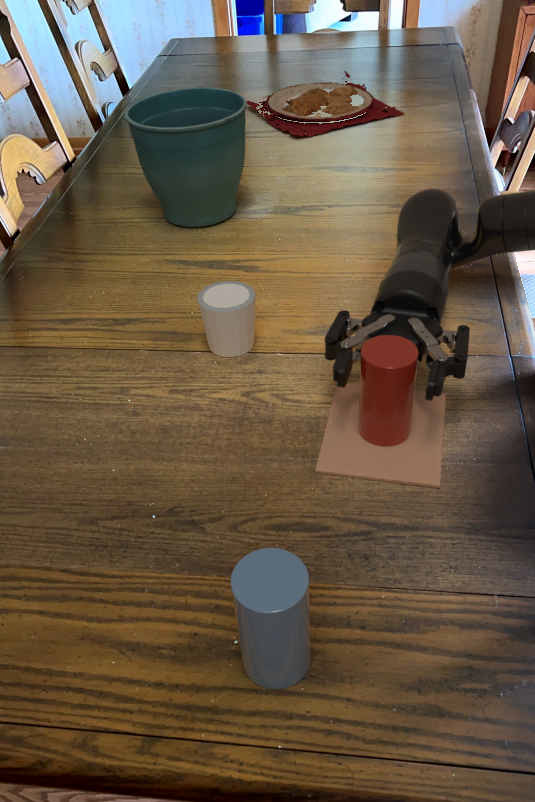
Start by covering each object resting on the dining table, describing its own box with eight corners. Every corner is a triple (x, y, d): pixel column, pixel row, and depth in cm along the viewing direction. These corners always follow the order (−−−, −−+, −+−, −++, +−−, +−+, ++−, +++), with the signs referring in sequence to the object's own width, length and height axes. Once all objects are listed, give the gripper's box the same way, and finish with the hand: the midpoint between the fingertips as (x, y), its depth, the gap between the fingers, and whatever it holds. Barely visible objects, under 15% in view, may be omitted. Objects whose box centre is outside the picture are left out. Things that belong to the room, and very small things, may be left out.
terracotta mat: (445, 395, 78) (446, 392, 78) (439, 488, 68) (440, 485, 68) (336, 385, 81) (336, 382, 81) (315, 473, 70) (315, 470, 70)
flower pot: (148, 246, 109) (128, 134, 98) (140, 198, 123) (121, 95, 112) (264, 228, 111) (256, 117, 100) (243, 183, 125) (235, 81, 114)
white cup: (231, 367, 84) (226, 317, 80) (192, 346, 88) (184, 297, 84) (270, 341, 88) (267, 292, 84) (231, 321, 92) (226, 274, 87)
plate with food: (243, 109, 156) (242, 93, 154) (345, 84, 164) (344, 68, 161) (294, 143, 140) (294, 126, 137) (404, 114, 147) (405, 96, 145)
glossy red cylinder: (412, 414, 76) (420, 337, 69) (408, 449, 72) (416, 370, 65) (361, 409, 77) (364, 332, 70) (354, 443, 73) (357, 365, 66)
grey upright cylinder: (317, 632, 57) (315, 553, 51) (304, 695, 53) (300, 618, 47) (251, 620, 58) (241, 542, 52) (234, 682, 54) (221, 605, 48)
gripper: (472, 334, 80) (455, 428, 69) (348, 318, 84) (312, 405, 73) (481, 276, 76) (465, 366, 64) (349, 262, 80) (311, 344, 68)
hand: (384, 386), depth 68 cm, fingers open, 8 cm apart
